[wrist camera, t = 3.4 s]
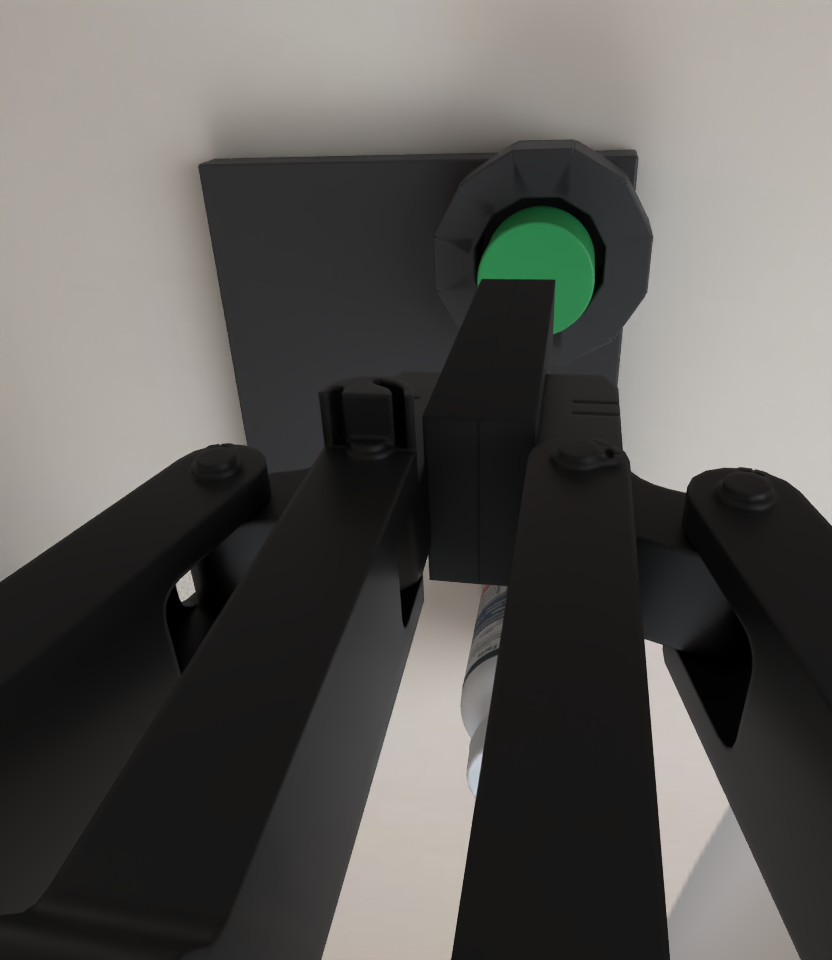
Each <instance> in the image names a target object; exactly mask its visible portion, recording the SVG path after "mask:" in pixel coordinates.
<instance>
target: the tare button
mask: <svg viewBox="0 0 832 960" xmlns="http://www.w3.org/2000/svg"><path fill="white" fill-rule="evenodd" d="M481 279H553V280H556V281H555V303H554V325H553V334H555V333H558V332H560V331H562V330H564V329H566V328H567V327H569V326H570V325H571V324H573V323H574V322H575V321H576V320H577V319H578V318H579V317H580V316H581V315H582V313H583V312H584V311H585V309H586V308H587V306H588V304H589V302H590V299H591V297H592V294H593V290H594V283H595V253H594V247H593V243H592V240H591V238H590V235H589V233H588V232H587V230H586V228H585V227H584V226H583V225H582V223H581V222H580V221H579V220H578V219H576V218H575V217H574V216H573V215H571V214H570V213H568V212H566V211H564V210H561V209H559V208H555V207H550V206H533V207H529V208H525V209H522V210H520V211H518V212H516V213H514V214H512V215H511V216H509V217H508V218H506V219H505V220H504V221H503V222H502V223H501V224H500V225H499V227H498V228H497V229H496V231H495V232H494V234H493V235H492V237H491V240H490V242H489V244H488V246H487V248H486V250H485V252H484V254H483V256H482V258H481V261H480V264H479V268H478V273H477V288H478V286H479V284H480V281H481Z"/></svg>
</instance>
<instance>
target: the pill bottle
mask: <svg viewBox="0 0 832 960" xmlns="http://www.w3.org/2000/svg"><path fill="white" fill-rule="evenodd" d="M507 592H508V586H497V585H485V586H484V589H483V592H482V596H481V599H480V605H479V610H478V614H477V619H476V624H475V629H474V634H473V639H472V644H471V650H470V654H469V659H468V664H467V669H466V674H465V678H464V683H463V688H462V696H461V715H462V720H463V723H464V726H465V728H466V731H467V732H468V734H469V736H470V738H471V741H470V747H469V757H468V764H467V781H468V785H469V788H470V790H471V792H472V794H473V795H474V797H475V799H476V794H477V788H478V781H479V775H480V768H481V762H482V755H483V749H484V742H485V736H486V729H487V722H488V716H489V709H490V703H491V696H492V690H493V683H494V677H495V670H496V664H497V657H498V650H499V644H500V637H501V631H502V624H503V618H504V611H505V605H506V598H507Z"/></svg>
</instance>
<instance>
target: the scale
mask: <svg viewBox="0 0 832 960" xmlns="http://www.w3.org/2000/svg"><path fill="white" fill-rule="evenodd" d="M637 168H638V155H637V152H636V151H635V150H607V151H594V150H592V149H590V148H589V147H587V146H585V145H584V144H582V143H581V142H579V141H575V140H534V141H518V142H517V143H514V144H512V145H511V146H509V147H507V148H506V149H504V150H503V151H501V152H500V153H467V154H420V155H374V156H327V157H280V158H234V159H213V160H210V161H208V162H205V163H202V164H200V165H199V173H200V179H201V184H202V190H203V196H204V201H205V207H206V213H207V218H208V224H209V230H210V235H211V241H212V247H213V252H214V258H215V264H216V270H217V275H218V281H219V287H220V292H221V298H222V304H223V309H224V315H225V321H226V326H227V332H228V338H229V343H230V349H231V355H232V360H233V366H234V372H235V378H236V383H237V389H238V395H239V400H240V406H241V412H242V417H243V423H244V429H245V434H246V440H247V446H249V447H252V448H255V449H258V450H259V451H260V452H261V453H262V454H263V455H264V456H265V457H266V463H267V469H268V473H275V472H283V471H292V470H299V469H305V468H311V467H312V465H313V464H314V462H315V461H316V459H317V457H318V456H319V454H320V453H321V451H322V449H323V448H324V437H323V429H322V420H321V412H320V403H319V395H318V392H319V391H321V390H322V389H323V388H324V387H325V386H327V385H329V384H331V383H334V382H336V381H339V380H341V379H346V378H351V377H356V376H371V375H379V376H387V377H395V376H396V375H398V374H400V373H401V372H403V371H406V372H437V373H441V372H442V369H443V367H444V365H445V363H446V360H447V358H448V356H449V353H450V351H451V349H452V346H453V344H454V342H455V339H456V337H457V335H458V332H459V330H460V328H461V325H462V323H463V321H464V319H465V316H466V314H467V312H468V309H469V307H470V305H471V302H472V300H473V298H474V295H475V293H476V291H477V273H478V268H479V264H480V261H481V258H482V256H483V254H484V252H485V250H486V248H487V246H488V244H489V242H490V240H491V237H492V235H493V234H494V232H495V231H496V229H497V228H498V227H499V225H500V224H501V223H502V222H503V221H504V220H505V219H506V218H508V217H509V216H511V215H512V214H514V213H516V212H518V211H520V210H522V209H525V208H529V207H533V206H550V207H555V208H559V209H561V210H564V211H566V212H568V213H570V214H571V215H573V216H574V217H575V218H576V219H578V220H579V221H580V222H581V223H582V225H583V226H584V227H585V228H586V230H587V232H588V233H589V235H590V238H591V240H592V243H593V247H594V253H595V283H594V290H593V294H592V297H591V299H590V302H589V304H588V306H587V308H586V309H585V311H584V312H583V313H582V315H581V316H580V317H579V318H578V319H577V320H576V321H575V322H574V323H573V324H571V325H570V326H569V327H567V328H566V329H564V330H562V331H560V332H558V333H555V334H553V347H552V369H551V374H568V375H599V376H606V377H607V378H608V379H609V380H610V381H611V382H612V383H613V384H614V385H615V386H616V387H617V384H618V373H619V362H620V352H621V341H622V330H623V326H624V325H625V323H626V322H627V321H628V319H629V318H630V317H631V315H632V314H633V312H634V311H635V310H636V308H637V307H638V305H639V304H640V303H641V301H642V300H643V299H644V297H645V295H646V293H647V289H648V280H649V270H650V261H651V251H652V242H653V235H652V230H651V226H650V223H649V219H648V217H647V215H646V213H645V211H644V208H643V206H642V204H641V202H640V200H639V198H638V196H637V194H636V192H635V190H636V179H637ZM428 555H429V554H428Z"/></svg>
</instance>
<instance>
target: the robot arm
mask: <svg viewBox="0 0 832 960" xmlns="http://www.w3.org/2000/svg"><path fill="white" fill-rule="evenodd" d="M555 281H556V280H553V279H481V281H480V284H479V286H478V288H477V291H476V293H475V295H474V298H473V300H472V302H471V305H470V307H469V309H468V312H467V314H466V316H465V319H464V321H463V323H462V325H461V328H460V330H459V332H458V335H457V337H456V339H455V342H454V344H453V346H452V349H451V351H450V353H449V356H448V358H447V360H446V363H445V365H444V367H443V369H442V372H441V373H437V372H406V371H403V372H401V373H400V374H398V375H396V376H395V377H387V376H379V375H371V376H356V377H351V378H346V379H341V380H339V381H336V382H334V383H331V384H329V385H327V386H325V387H324V388H323V389H322V390H321V391H319V392H318V395H319V403H320V412H321V420H322V429H323V437H324V448H323V449H322V451H321V453H320V454H319V456H318V457H317V459H316V461H315V462H314V464H313V465H312V467H311V468H305V469H299V470H292V471H283V472H275V473H268V469H267V463H266V457H265V456H264V455H263V454H262V453H261V452H260V451H259V450H258V449H255V448H252V447H249V446H245V445H233V444H230V443H228V444H221V445H219V444H216V445H210V446H208V447H206V448H204V449H200V450H197V451H194V452H192V453H190V454H188V455H186V456H184V457H182V458H180V459H179V460H177V461H176V462H174V463H173V464H171V465H170V466H168V467H167V468H165V469H164V470H163V471H161V472H160V473H158V474H157V475H155V476H154V477H152V478H151V479H149V480H148V481H147V482H145V483H144V484H142V485H141V486H139V487H138V488H136V489H135V490H133V491H132V492H131V493H129V494H128V495H126V496H125V497H123V498H122V499H120V500H119V501H118V502H116V503H115V504H113V505H112V506H110V507H109V508H107V509H106V510H104V511H103V512H102V513H100V514H99V515H97V516H96V517H94V518H93V519H91V520H90V521H88V522H87V523H86V524H84V525H83V526H81V527H80V528H78V529H77V530H75V531H74V532H72V533H71V534H70V535H68V536H67V537H65V538H64V539H62V540H61V541H59V542H58V543H56V544H55V545H54V546H52V547H51V548H49V549H48V550H46V551H45V552H43V553H42V554H40V555H39V556H38V557H36V558H35V559H33V560H32V561H30V562H29V563H27V564H26V565H24V566H23V567H22V568H20V569H19V570H17V571H16V572H14V573H13V574H11V575H10V576H8V577H7V578H6V579H4V580H3V581H1V582H0V960H321V958H322V955H323V951H324V948H325V944H326V941H327V937H328V934H329V930H330V927H331V923H332V920H333V916H334V913H335V909H336V906H337V902H338V899H339V896H340V892H341V889H342V885H343V882H344V878H345V875H346V871H347V868H348V864H349V861H350V857H351V854H352V850H353V847H354V843H355V840H356V836H357V833H358V829H359V826H360V822H361V819H362V815H363V812H364V808H365V805H366V801H367V798H368V794H369V791H370V787H371V784H372V780H373V777H374V773H375V770H376V766H377V763H378V759H379V756H380V752H381V749H382V745H383V742H384V738H385V735H386V731H387V728H388V724H389V721H390V717H391V714H392V710H393V707H394V703H395V700H396V696H397V693H398V689H399V686H400V682H401V679H402V675H403V672H404V668H405V665H406V661H407V658H408V655H409V651H410V648H411V644H412V641H413V637H414V634H415V630H416V627H417V623H418V620H419V616H420V613H421V609H422V606H423V602H424V588H423V570H424V567H425V563H426V560H427V557H428V554H429V576H430V580H437V581H449V582H461V583H473V584H485V585H497V586H508V592H507V598H506V605H505V611H504V618H503V624H502V631H501V637H500V644H499V650H498V657H497V664H496V670H495V677H494V683H493V690H492V696H491V703H490V709H489V716H488V722H487V729H486V736H485V742H484V749H483V755H482V762H481V768H480V775H479V781H478V788H477V794H476V801H475V807H474V814H473V821H472V827H471V834H470V840H469V847H468V853H467V860H466V866H465V873H464V879H463V886H462V893H461V899H460V906H459V912H458V919H457V925H456V932H455V938H454V945H453V951H452V958H451V960H670V953H669V941H668V928H667V916H666V903H665V891H664V879H663V866H662V854H661V842H660V829H659V817H658V805H657V792H656V780H655V767H654V755H653V743H652V730H651V718H650V706H649V693H648V681H647V669H646V656H645V644H644V639H646V640H649V641H653V642H656V643H659V644H662V645H663V655H664V661H665V664H666V666H667V668H668V671H669V673H670V675H671V677H672V679H673V681H674V684H675V686H676V688H677V690H678V692H679V695H680V697H681V699H682V701H683V703H684V705H685V708H686V710H687V712H688V714H689V716H690V719H691V721H692V723H693V725H694V727H695V729H696V732H697V734H698V736H699V738H700V740H701V743H702V745H703V747H704V749H705V751H706V754H707V756H708V758H709V760H710V762H711V764H712V767H713V769H714V771H715V773H716V775H717V778H718V780H719V782H720V784H721V786H722V788H723V791H724V793H725V795H726V797H727V799H728V802H729V804H730V806H731V808H732V810H733V812H734V815H735V817H736V819H737V821H738V823H739V826H740V828H741V830H742V832H743V834H744V836H745V839H746V841H747V843H748V845H749V847H750V849H751V852H752V854H753V856H754V858H755V861H756V863H757V865H758V867H759V869H760V871H761V873H762V876H763V878H764V880H765V882H766V885H767V887H768V889H769V891H770V893H771V895H772V898H773V900H774V902H775V904H776V906H777V909H778V911H779V913H780V915H781V917H782V920H783V922H784V924H785V926H786V928H787V930H788V932H789V935H790V937H791V939H792V941H793V944H794V946H795V948H796V950H797V952H798V955H799V957H800V959H801V960H832V526H831V525H830V524H829V522H828V521H827V520H826V519H825V518H824V517H823V516H822V515H821V514H820V513H819V512H818V511H817V509H816V508H815V507H814V506H813V505H812V504H811V503H810V502H809V501H808V500H807V499H806V498H805V496H804V495H803V494H802V493H801V492H800V491H799V490H797V489H796V488H795V487H793V486H792V485H791V484H789V483H788V482H787V481H785V480H782V479H780V478H777V477H775V476H772V475H770V474H768V473H766V472H764V471H760V470H756V469H755V471H754V470H752V469H751V468H743V467H739V468H720V469H714V470H708V471H705V472H703V473H701V474H699V475H697V476H695V477H693V478H692V480H691V481H690V483H689V485H688V487H687V492H686V493H684V492H680V491H675V490H671V489H667V488H664V487H660V486H657V485H654V484H652V483H649V482H647V481H645V480H643V479H641V478H639V477H638V476H637V475H635V474H634V473H632V472H631V471H630V461H629V459H628V457H627V455H626V453H625V452H624V451H623V448H622V434H621V420H620V407H619V393H618V388H617V387H616V386H615V385H614V384H613V383H612V382H611V381H610V380H609V379H608V378H607V377H606V376H599V375H568V374H551V369H552V347H553V325H554V303H555ZM190 570H191V574H192V578H193V582H194V586H195V591H196V592H195V593H194V594H193V595H191V596H190V597H189V598H188V599H187V600H185V601H183V602H181V601H180V599H179V596H178V592H177V588H176V583H177V582H178V581H179V579H180V578H182V577H183V576H184V575H185V574H186V573H187V572H188V571H190Z"/></svg>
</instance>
